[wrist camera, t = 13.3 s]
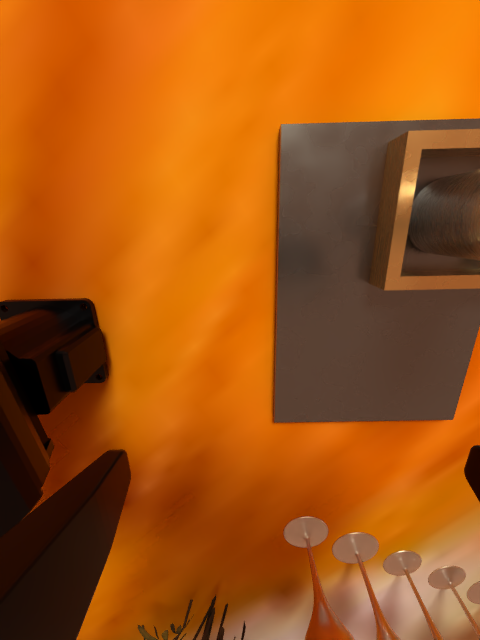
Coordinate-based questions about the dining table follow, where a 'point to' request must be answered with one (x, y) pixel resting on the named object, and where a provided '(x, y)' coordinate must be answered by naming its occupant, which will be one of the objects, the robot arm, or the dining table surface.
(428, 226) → the shiny metal cylinder
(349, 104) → the dining table surface
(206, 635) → the dried plant
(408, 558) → the goblet set
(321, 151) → the dark grey flat slab
